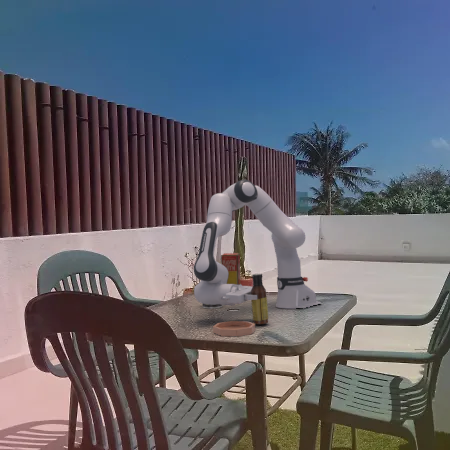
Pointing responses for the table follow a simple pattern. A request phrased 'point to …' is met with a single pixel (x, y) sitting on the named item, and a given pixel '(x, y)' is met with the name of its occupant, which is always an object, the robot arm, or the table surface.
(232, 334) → the terracotta saucer
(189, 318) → the table surface
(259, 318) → the sauce bottle
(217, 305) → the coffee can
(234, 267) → the food packaging
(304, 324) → the table surface
